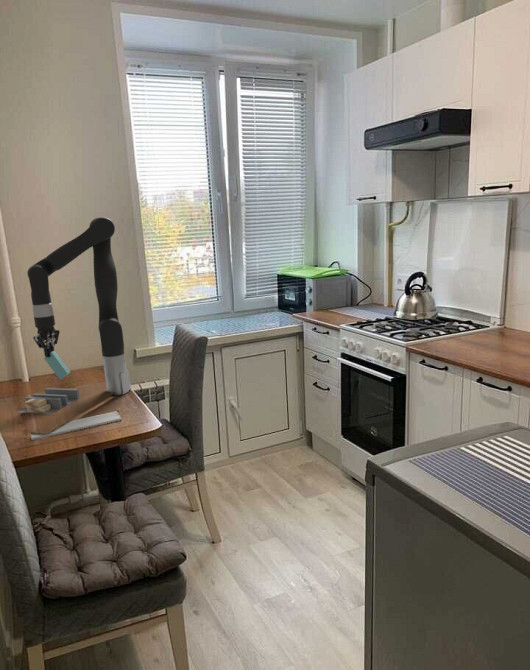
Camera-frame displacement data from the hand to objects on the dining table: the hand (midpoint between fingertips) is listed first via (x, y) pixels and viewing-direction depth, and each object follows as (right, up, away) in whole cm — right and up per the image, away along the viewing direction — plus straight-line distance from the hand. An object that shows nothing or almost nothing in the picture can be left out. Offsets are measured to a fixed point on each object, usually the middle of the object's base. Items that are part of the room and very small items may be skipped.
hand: (50, 356), depth 208 cm
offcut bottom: (-2, -21, -6) cm, 22 cm away
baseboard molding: (+18, -25, -19) cm, 37 cm away
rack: (0, -21, 0) cm, 21 cm away
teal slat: (+6, -8, 0) cm, 10 cm away
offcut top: (-3, -19, -6) cm, 21 cm away
